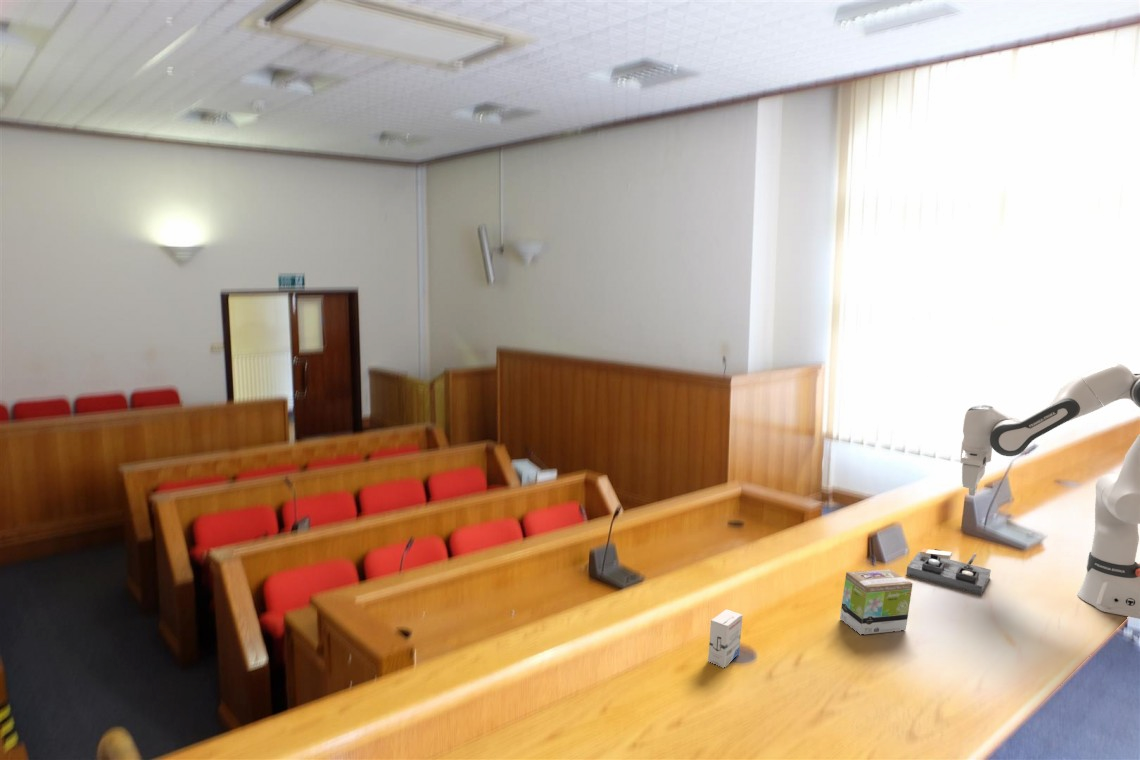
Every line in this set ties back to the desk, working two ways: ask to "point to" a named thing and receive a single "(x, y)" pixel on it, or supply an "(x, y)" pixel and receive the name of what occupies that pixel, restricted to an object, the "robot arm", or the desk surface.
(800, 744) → the desk surface
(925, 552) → the rocker
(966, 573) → the button
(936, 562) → the button
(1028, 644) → the desk surface
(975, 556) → the toggle lever
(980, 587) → the panel
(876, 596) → the tea box
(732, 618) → the ink box
